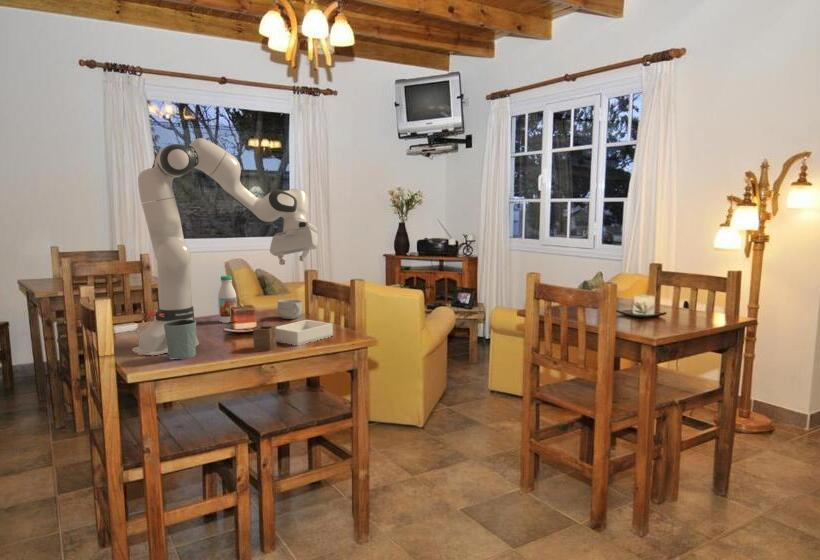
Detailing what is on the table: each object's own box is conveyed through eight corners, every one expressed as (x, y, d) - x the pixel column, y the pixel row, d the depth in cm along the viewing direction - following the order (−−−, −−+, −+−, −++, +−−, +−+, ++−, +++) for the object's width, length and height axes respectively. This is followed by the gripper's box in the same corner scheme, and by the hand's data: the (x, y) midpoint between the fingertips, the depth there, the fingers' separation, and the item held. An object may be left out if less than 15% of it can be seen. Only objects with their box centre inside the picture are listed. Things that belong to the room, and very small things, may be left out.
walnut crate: (270, 350, 209) (269, 329, 208) (254, 350, 210) (253, 329, 209) (276, 346, 215) (275, 326, 214) (260, 346, 216) (259, 325, 215)
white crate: (297, 345, 215) (297, 332, 215) (272, 340, 224) (271, 327, 223) (332, 336, 230) (332, 323, 229) (307, 331, 238) (307, 319, 237)
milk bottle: (215, 322, 259) (212, 276, 256) (228, 319, 265) (226, 274, 263) (228, 324, 255) (226, 277, 252) (241, 320, 262) (239, 275, 259)
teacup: (275, 317, 269) (275, 299, 268) (299, 314, 274) (298, 297, 273) (282, 322, 257) (282, 304, 256) (307, 320, 261) (306, 302, 260)
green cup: (201, 352, 207) (199, 318, 205) (192, 360, 197) (190, 325, 195) (172, 353, 206) (169, 319, 205) (161, 361, 196) (159, 325, 195)
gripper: (268, 230, 233) (264, 263, 229) (311, 221, 225) (309, 255, 220) (278, 236, 239) (275, 269, 234) (321, 228, 230) (318, 261, 226)
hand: (292, 262), depth 227 cm, fingers open, 8 cm apart
